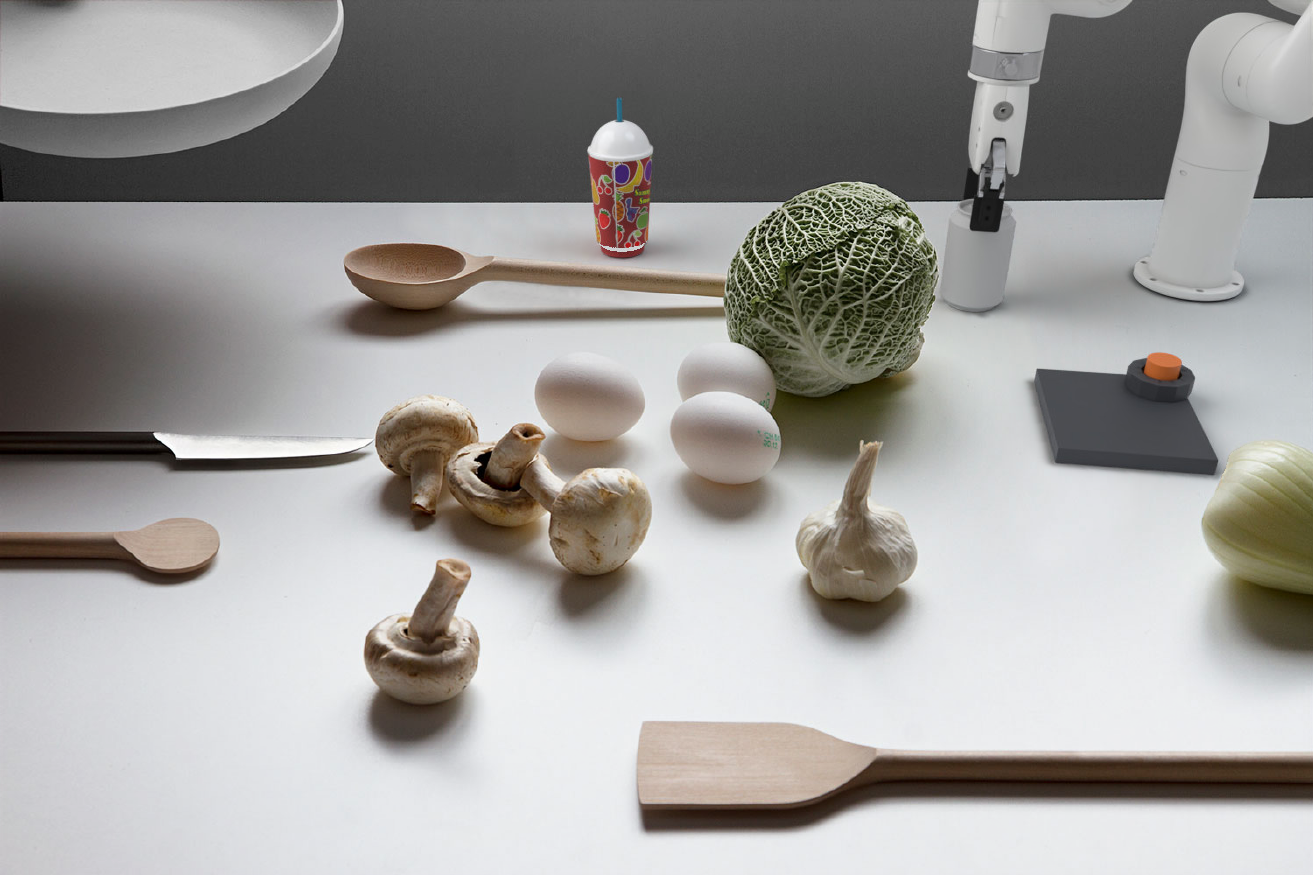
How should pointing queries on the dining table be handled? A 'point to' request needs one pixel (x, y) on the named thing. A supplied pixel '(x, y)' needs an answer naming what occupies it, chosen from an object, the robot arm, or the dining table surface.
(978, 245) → the can
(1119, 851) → the dining table surface
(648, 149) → the smoothie
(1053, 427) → the grey flat slab
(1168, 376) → the tare button
